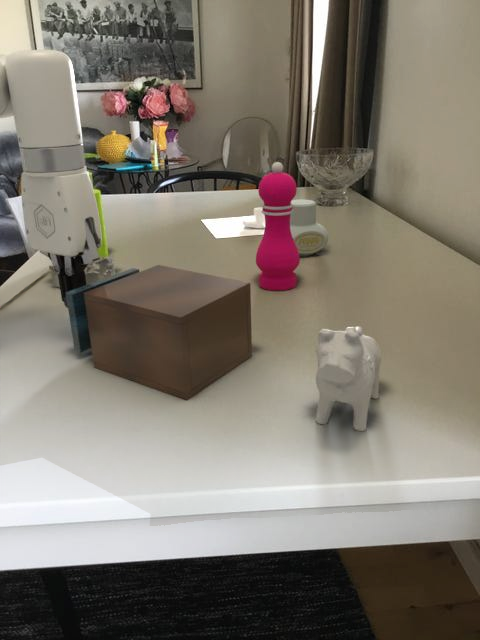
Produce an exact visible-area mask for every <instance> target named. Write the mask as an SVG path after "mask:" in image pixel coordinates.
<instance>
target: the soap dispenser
mask: <svg viewBox="0 0 480 640" xmlns="http://www.w3.org/2000/svg"><path fill="white" fill-rule="evenodd" d="M84 154H85V159H89V158H99V159H100V158H101V156H102V155H101V154H97V153H86V152H84ZM86 172H88V173H89V177H90V180H91V183H92V187H93V190H94V194H95V198H96V203H97V208H98V213H99V219H100V225H101V234H102V244H101V247H100V248H98V249H97V250H98V253H99V257H100V258H103V257H109V250H108V242H107V234H106V226H105V225H106V224H105V218H104V210H103V209H104V208H103V202H102V201H103V200H102V193H101V190H100V189H97V188H94V183H93V182H94V181H93V175H92V174H93V173H92V172H90V171H89V170H87V171H86Z"/></svg>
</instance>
